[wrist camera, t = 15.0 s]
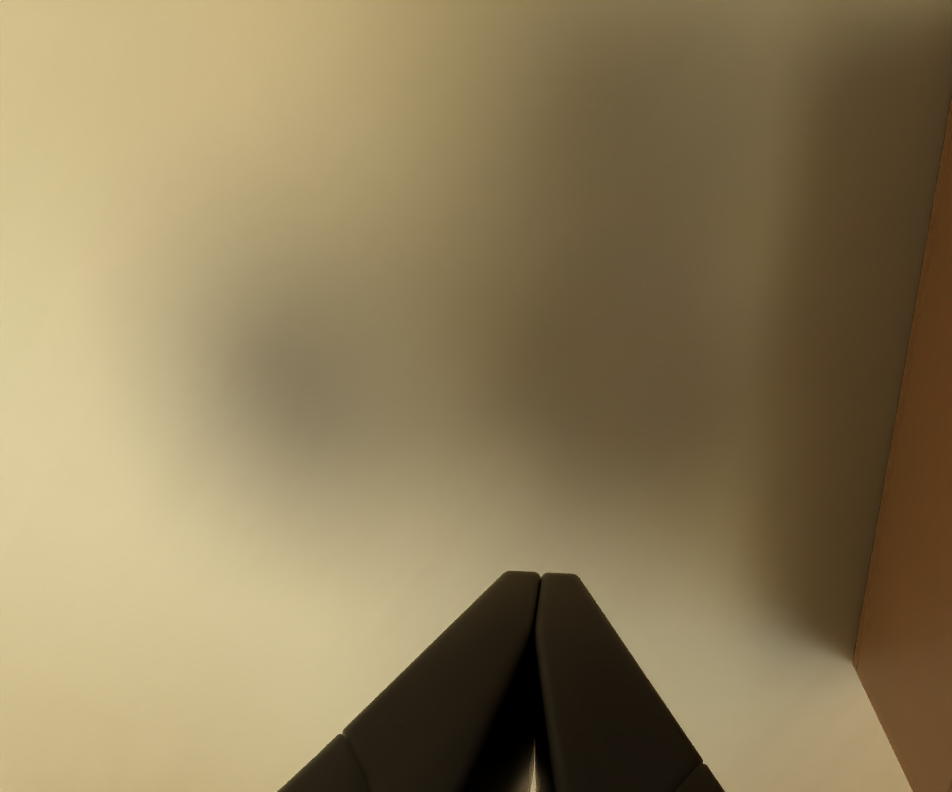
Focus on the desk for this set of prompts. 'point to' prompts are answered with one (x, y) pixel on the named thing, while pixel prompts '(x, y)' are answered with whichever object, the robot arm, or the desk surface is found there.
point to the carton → (918, 532)
